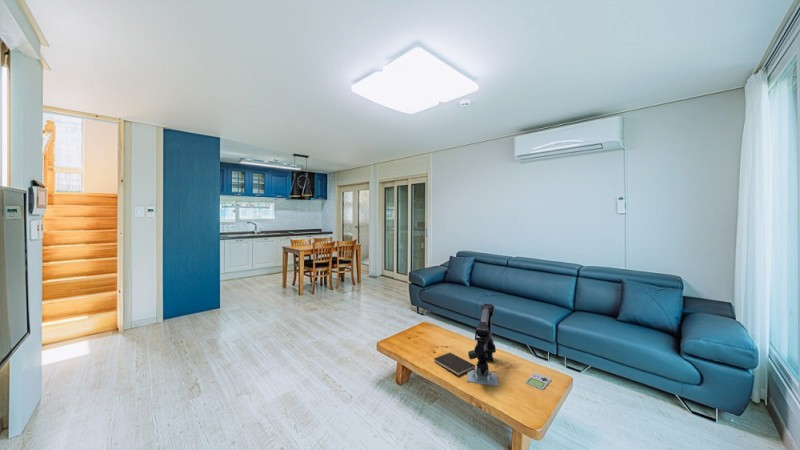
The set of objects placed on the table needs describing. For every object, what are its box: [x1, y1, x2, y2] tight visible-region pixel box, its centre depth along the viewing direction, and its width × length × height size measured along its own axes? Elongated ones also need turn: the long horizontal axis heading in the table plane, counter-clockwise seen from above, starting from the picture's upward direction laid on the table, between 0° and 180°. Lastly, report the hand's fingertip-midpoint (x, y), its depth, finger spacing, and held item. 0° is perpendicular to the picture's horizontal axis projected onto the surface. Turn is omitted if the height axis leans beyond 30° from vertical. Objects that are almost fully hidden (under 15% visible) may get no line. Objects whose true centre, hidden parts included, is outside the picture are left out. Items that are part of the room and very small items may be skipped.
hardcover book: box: [433, 352, 476, 377], centre depth 187 cm, size 16×23×2 cm
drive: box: [475, 363, 489, 377], centre depth 172 cm, size 4×7×5 cm, turn 75°
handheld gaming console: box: [525, 372, 552, 391], centre depth 169 cm, size 10×2×15 cm
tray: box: [466, 366, 499, 387], centre depth 172 cm, size 12×18×4 cm, turn 75°
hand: (482, 372), depth 172 cm, fingers closed on drive, 4 cm apart
